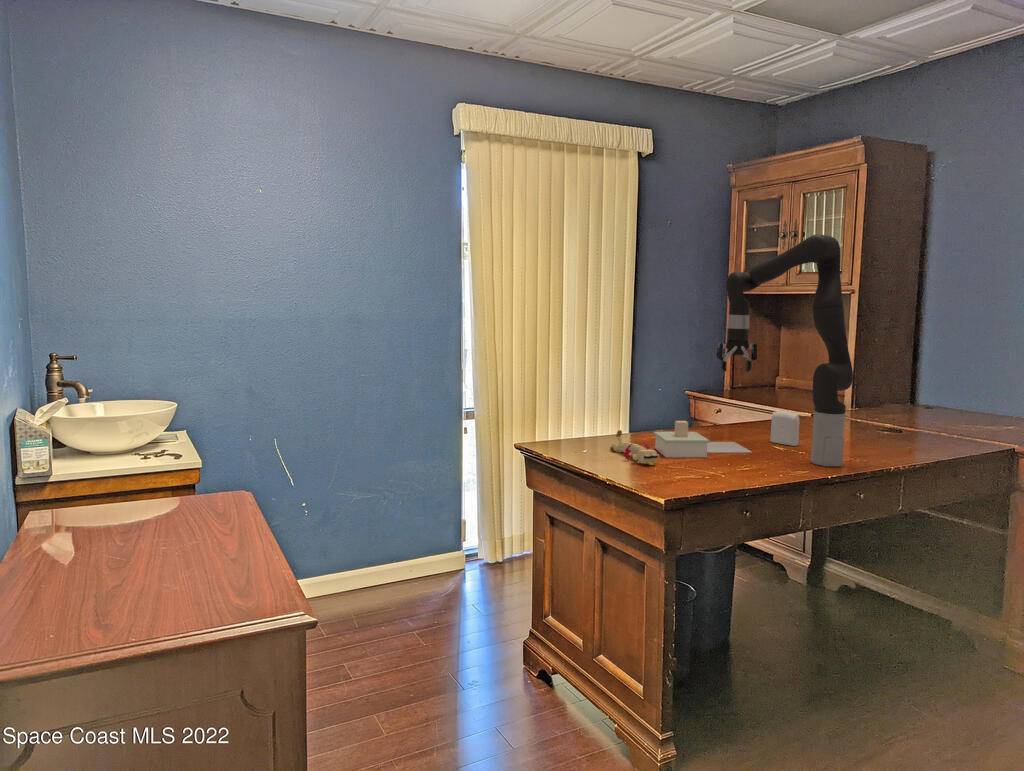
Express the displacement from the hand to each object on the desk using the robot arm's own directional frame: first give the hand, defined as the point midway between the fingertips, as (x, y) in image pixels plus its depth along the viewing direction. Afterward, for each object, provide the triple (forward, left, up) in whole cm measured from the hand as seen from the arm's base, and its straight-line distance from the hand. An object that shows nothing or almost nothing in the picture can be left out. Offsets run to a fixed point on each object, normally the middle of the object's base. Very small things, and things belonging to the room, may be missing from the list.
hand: (735, 371), depth 260 cm
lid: (-16, +25, -22) cm, 37 cm away
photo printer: (-1, -19, -27) cm, 33 cm away
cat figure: (-24, +43, -27) cm, 56 cm away
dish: (-16, +25, -27) cm, 40 cm away
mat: (-8, +8, -27) cm, 29 cm away
